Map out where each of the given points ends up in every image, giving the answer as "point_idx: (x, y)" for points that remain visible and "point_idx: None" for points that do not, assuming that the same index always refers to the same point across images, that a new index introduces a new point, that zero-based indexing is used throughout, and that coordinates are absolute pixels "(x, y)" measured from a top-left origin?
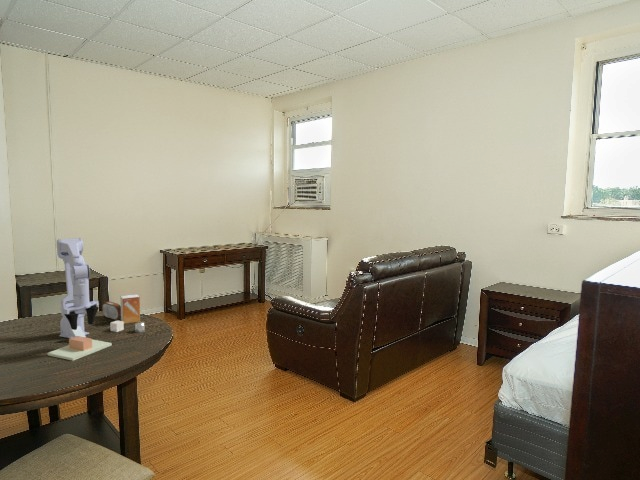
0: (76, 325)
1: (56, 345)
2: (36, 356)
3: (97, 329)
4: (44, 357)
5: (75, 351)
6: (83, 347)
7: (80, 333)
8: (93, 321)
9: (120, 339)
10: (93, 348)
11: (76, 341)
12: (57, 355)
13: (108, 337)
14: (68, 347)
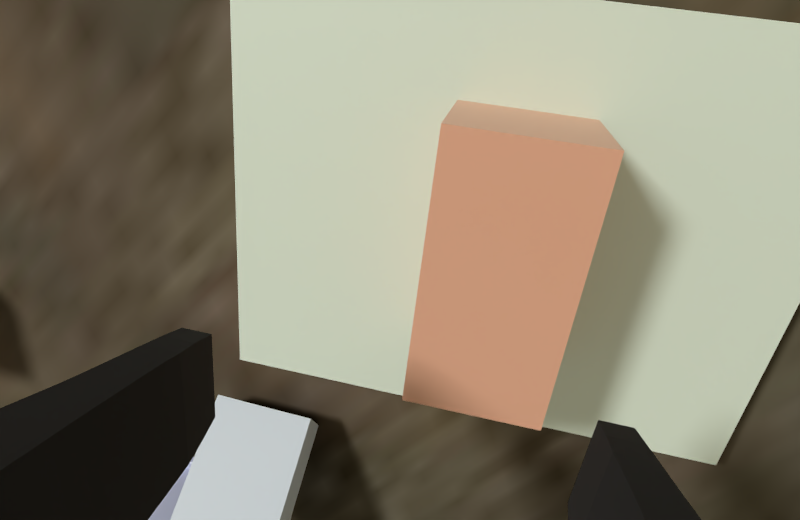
0: (648, 494)
1: (441, 513)
2: (745, 512)
3: None
4: (772, 437)
5: (638, 209)
6: (605, 130)
7: (230, 462)
8: (139, 349)
9: (53, 21)
10: (486, 51)
11: (576, 293)
12: (782, 329)
13: (87, 212)
14: None
